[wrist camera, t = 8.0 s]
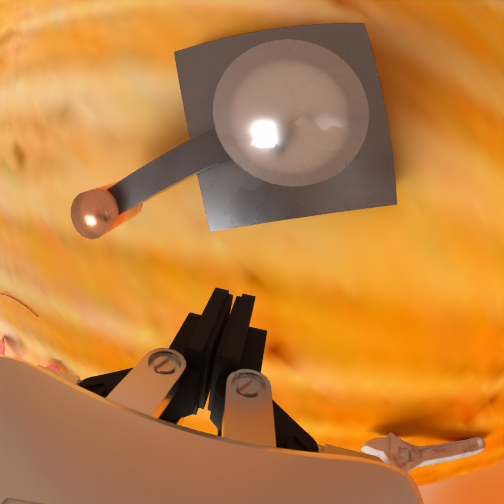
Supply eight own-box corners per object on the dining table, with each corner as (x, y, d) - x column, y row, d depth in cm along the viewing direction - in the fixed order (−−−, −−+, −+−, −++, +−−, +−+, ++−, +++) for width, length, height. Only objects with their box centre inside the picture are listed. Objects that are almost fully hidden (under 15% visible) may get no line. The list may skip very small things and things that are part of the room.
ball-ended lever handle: (317, 47, 14) (329, 18, 10) (367, 152, 16) (393, 155, 12) (91, 163, 17) (50, 172, 13) (135, 252, 19) (102, 279, 15)
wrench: (469, 431, 33) (347, 437, 29) (476, 425, 33) (355, 429, 28) (485, 462, 26) (361, 492, 21) (493, 456, 25) (371, 485, 21)
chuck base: (353, 37, 16) (363, 23, 13) (382, 196, 20) (397, 204, 17) (187, 63, 17) (174, 52, 15) (219, 219, 21) (210, 231, 19)
